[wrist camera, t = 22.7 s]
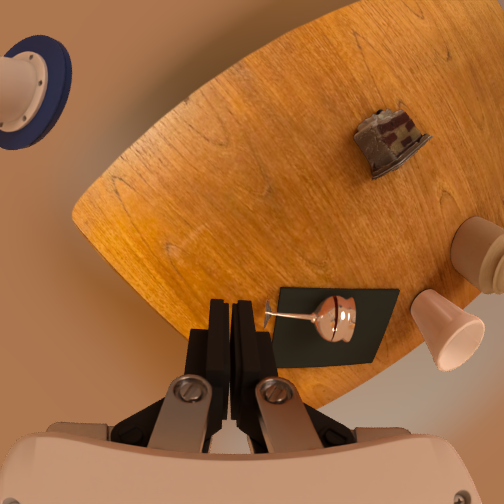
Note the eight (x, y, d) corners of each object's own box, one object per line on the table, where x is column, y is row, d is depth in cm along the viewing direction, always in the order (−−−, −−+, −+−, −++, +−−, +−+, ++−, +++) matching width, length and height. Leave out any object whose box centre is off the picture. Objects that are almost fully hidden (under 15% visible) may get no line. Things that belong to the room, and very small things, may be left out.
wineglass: (261, 346, 38) (348, 352, 37) (266, 300, 36) (359, 308, 35) (264, 322, 44) (339, 328, 43) (268, 281, 42) (348, 289, 42)
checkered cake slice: (406, 93, 31) (384, 98, 24) (435, 135, 32) (423, 154, 25) (360, 126, 39) (326, 142, 32) (387, 164, 40) (360, 191, 33)
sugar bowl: (494, 193, 37) (553, 221, 23) (502, 240, 41) (552, 273, 27) (443, 237, 40) (503, 279, 26) (455, 283, 44) (503, 328, 30)
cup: (411, 278, 42) (455, 323, 30) (450, 278, 43) (494, 317, 31) (393, 327, 46) (427, 376, 34) (433, 323, 47) (467, 366, 35)
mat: (268, 366, 48) (268, 368, 47) (280, 286, 41) (281, 289, 41) (371, 360, 49) (372, 362, 49) (398, 288, 43) (400, 290, 42)
